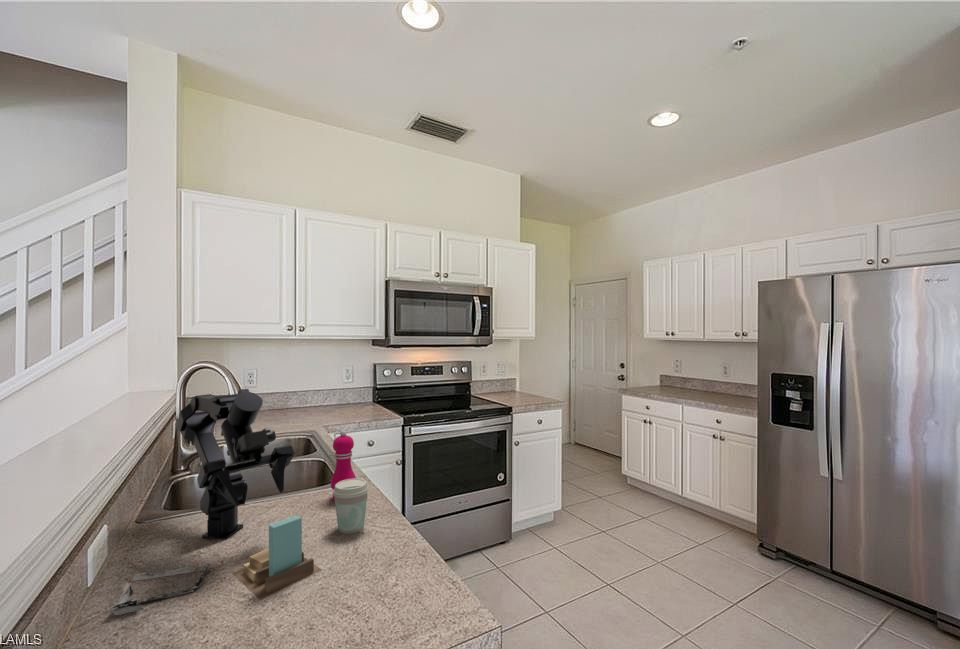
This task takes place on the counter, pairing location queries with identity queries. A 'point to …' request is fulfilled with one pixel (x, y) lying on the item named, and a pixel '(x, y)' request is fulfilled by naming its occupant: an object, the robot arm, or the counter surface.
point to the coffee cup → (351, 505)
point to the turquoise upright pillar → (285, 544)
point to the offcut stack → (256, 563)
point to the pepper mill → (342, 459)
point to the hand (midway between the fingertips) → (260, 498)
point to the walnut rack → (277, 578)
